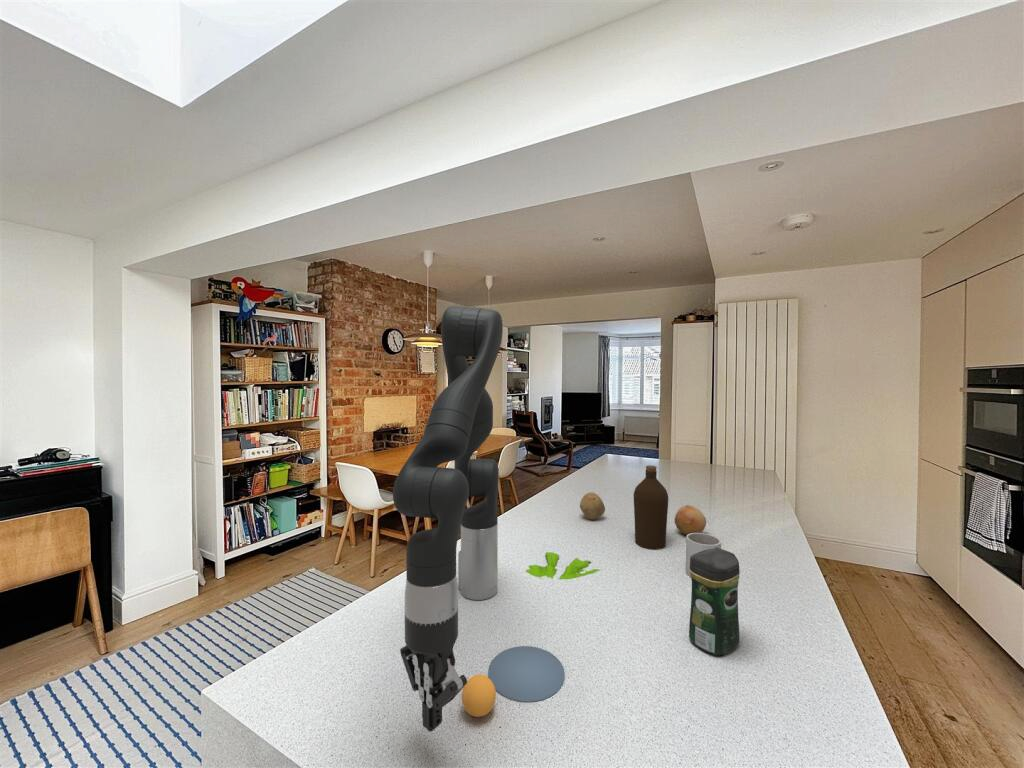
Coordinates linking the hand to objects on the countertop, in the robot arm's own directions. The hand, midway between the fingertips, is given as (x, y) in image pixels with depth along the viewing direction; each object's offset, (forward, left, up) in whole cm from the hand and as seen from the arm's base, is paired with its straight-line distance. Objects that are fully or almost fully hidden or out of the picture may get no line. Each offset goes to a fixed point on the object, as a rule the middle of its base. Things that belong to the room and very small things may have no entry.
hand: (431, 725), depth 60 cm
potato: (-33, +100, -4) cm, 105 cm away
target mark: (0, +22, -4) cm, 22 cm away
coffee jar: (+23, +54, -4) cm, 58 cm away
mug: (+13, +84, -4) cm, 85 cm away
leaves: (-19, +62, -5) cm, 65 cm away
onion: (0, +109, -4) cm, 109 cm away
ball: (0, +10, -1) cm, 10 cm away
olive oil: (-7, +93, -4) cm, 93 cm away
